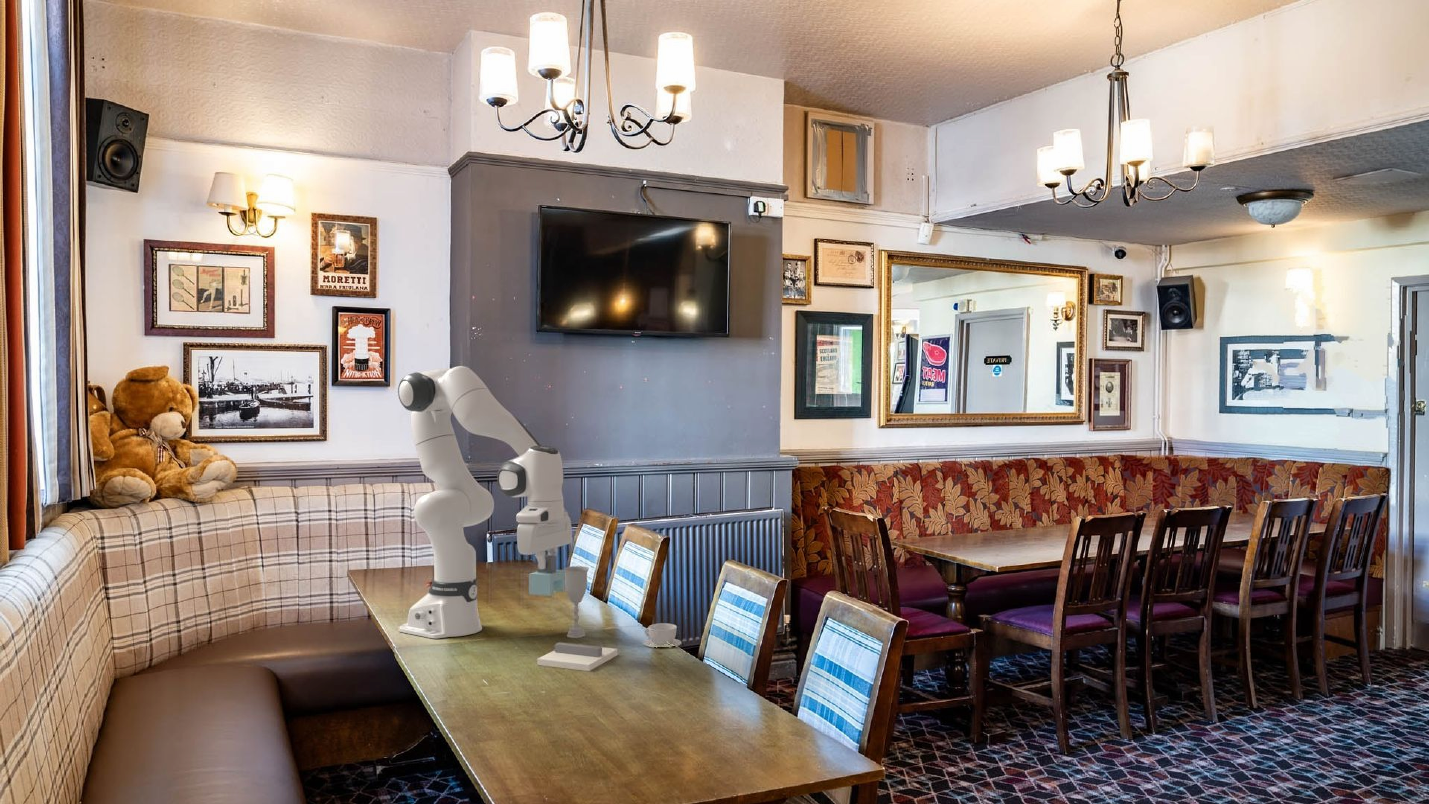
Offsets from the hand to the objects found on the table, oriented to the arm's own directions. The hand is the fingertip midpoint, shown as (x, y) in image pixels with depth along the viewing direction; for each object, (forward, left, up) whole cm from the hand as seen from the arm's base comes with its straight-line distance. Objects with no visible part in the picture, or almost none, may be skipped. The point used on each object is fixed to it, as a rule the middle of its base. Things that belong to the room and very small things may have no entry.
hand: (546, 567), depth 241 cm
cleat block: (0, 0, -6) cm, 6 cm away
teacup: (+22, +22, -23) cm, 38 cm away
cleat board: (+9, 0, -22) cm, 24 cm away
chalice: (-3, +21, -22) cm, 31 cm away
